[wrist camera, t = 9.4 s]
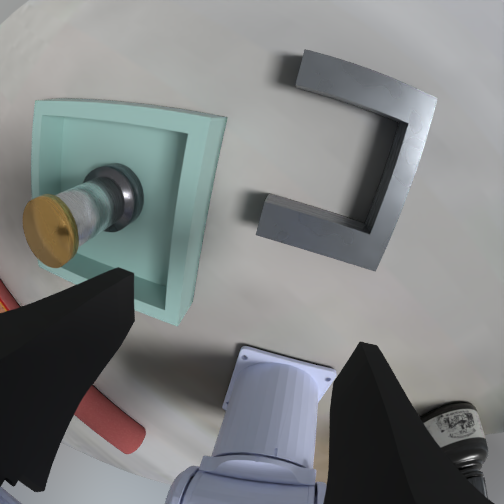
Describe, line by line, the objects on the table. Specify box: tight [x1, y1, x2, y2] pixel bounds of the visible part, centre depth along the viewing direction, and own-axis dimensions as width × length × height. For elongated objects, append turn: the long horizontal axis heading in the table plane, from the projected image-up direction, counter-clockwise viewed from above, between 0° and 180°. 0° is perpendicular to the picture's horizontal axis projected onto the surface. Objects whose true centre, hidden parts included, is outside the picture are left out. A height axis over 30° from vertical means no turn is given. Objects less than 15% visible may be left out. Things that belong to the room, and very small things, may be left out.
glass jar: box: [23, 163, 144, 268], centre depth 16 cm, size 4×4×7 cm
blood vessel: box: [0, 280, 146, 454], centre depth 28 cm, size 42×5×5 cm, turn 40°
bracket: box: [256, 49, 437, 271], centre depth 15 cm, size 10×7×2 cm
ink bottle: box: [420, 403, 488, 499], centre depth 19 cm, size 10×9×12 cm
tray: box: [31, 98, 228, 326], centre depth 18 cm, size 13×13×3 cm
